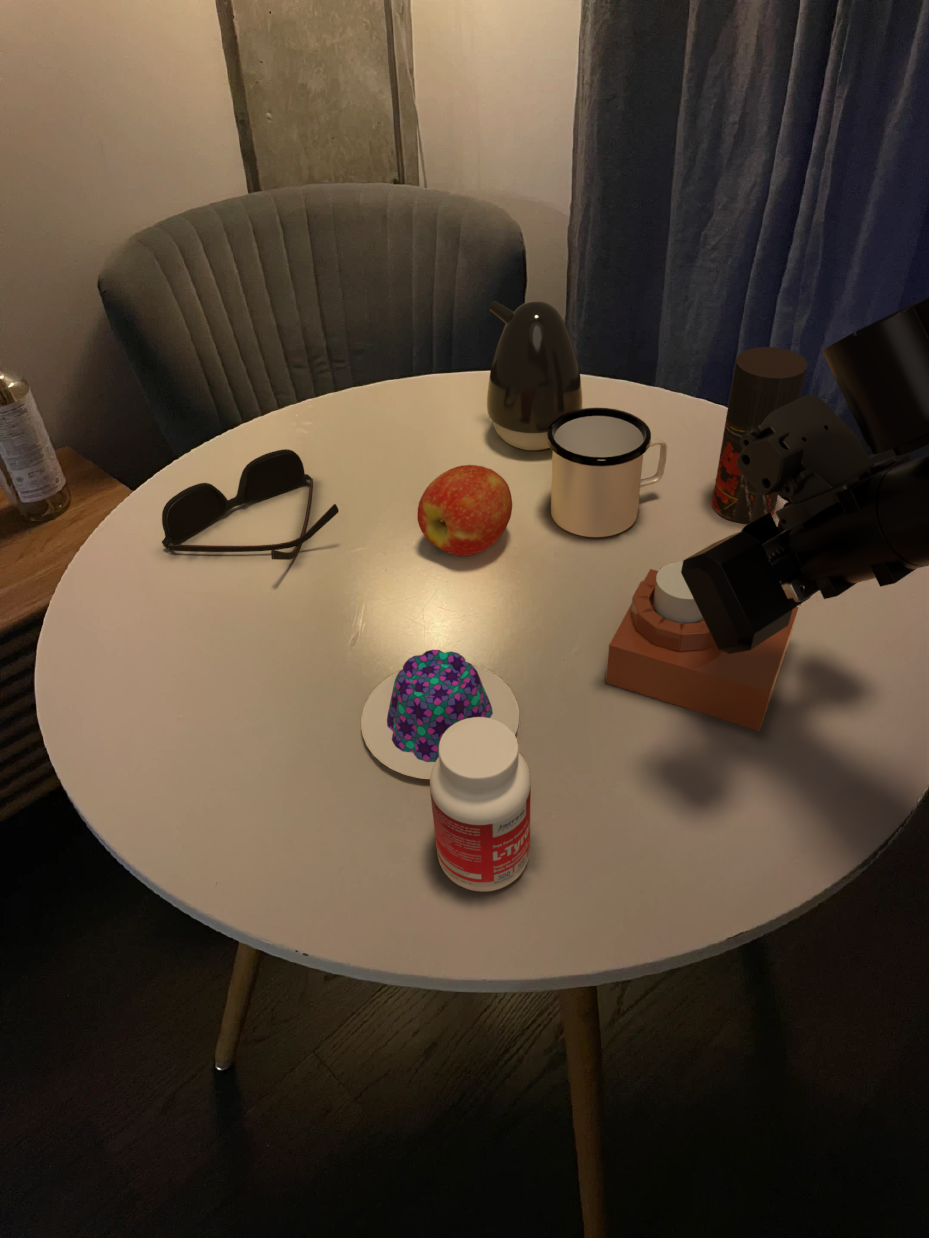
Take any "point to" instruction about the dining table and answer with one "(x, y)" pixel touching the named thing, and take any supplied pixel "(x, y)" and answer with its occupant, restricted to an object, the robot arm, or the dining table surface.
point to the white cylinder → (674, 596)
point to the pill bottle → (481, 805)
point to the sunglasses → (255, 484)
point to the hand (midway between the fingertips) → (726, 571)
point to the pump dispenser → (532, 374)
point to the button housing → (693, 663)
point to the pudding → (430, 709)
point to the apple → (465, 509)
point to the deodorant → (753, 425)
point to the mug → (599, 469)
